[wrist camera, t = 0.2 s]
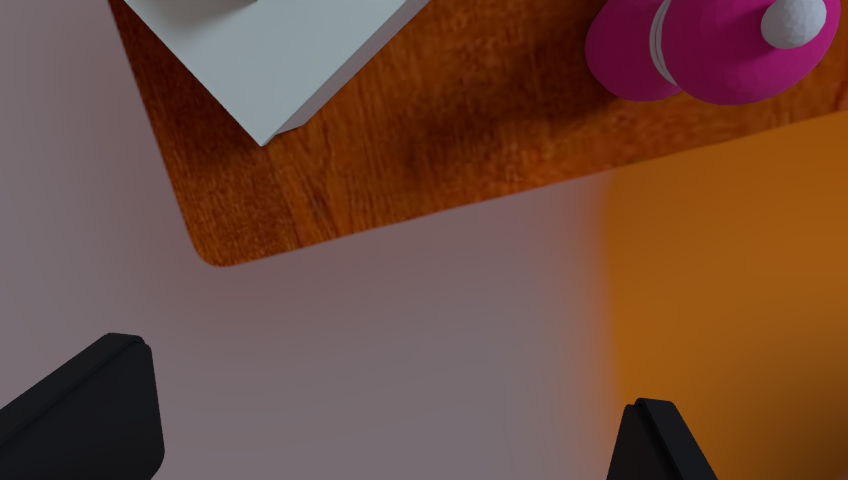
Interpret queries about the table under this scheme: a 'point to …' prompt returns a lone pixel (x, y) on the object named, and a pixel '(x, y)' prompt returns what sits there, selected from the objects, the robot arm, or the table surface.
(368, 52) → the storage box
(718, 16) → the pepper mill
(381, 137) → the table surface
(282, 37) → the lid
